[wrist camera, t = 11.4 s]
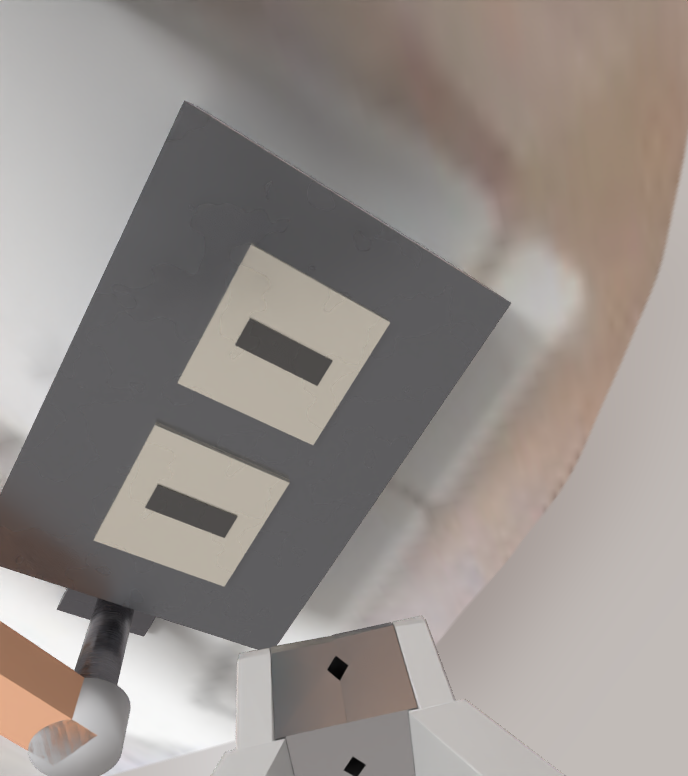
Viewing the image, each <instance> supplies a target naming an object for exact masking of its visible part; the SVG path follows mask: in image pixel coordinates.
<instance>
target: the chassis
mask: <svg viewBox="0 0 688 776" xmlns="http://www.w3.org/2000/svg"><path fill="white" fill-rule="evenodd" d="M510 304H511V302H509V301H508V300H506V299H504V298H503V297H501V296H500V295H498V294H497V293H495V292H494V291H492V290H491V289H489V288H488V287H486V286H485V285H483V284H482V283H480V282H478V281H477V280H475V279H474V278H472V277H471V276H469V275H468V274H466V273H465V272H463V271H462V270H460V269H458V268H457V267H455V266H454V265H452V264H450V263H449V262H447V261H445V260H444V259H442V258H441V257H439V256H437V255H436V254H434V253H433V252H431V251H429V250H428V249H426V248H425V247H423V246H421V245H420V244H418V243H417V242H415V241H413V240H412V239H410V238H408V237H407V236H405V235H404V234H402V233H400V232H399V231H397V230H396V229H394V228H392V227H391V226H389V225H388V224H386V223H384V222H383V221H381V220H380V219H378V218H376V217H375V216H373V215H371V214H370V213H368V212H367V211H365V210H363V209H362V208H360V207H359V206H357V205H355V204H354V203H352V202H351V201H349V200H347V199H346V198H344V197H343V196H341V195H339V194H338V193H336V192H334V191H333V190H331V189H330V188H328V187H326V186H325V185H323V184H322V183H320V182H318V181H317V180H315V179H314V178H312V177H310V176H309V175H307V174H306V173H304V172H302V171H301V170H299V169H297V168H296V167H294V166H293V165H291V164H289V163H288V162H286V161H285V160H283V159H281V158H280V157H278V156H277V155H275V154H273V153H272V152H270V151H268V150H267V149H265V148H264V147H262V146H260V145H259V144H257V143H256V142H254V141H252V140H251V139H249V138H248V137H246V136H244V135H243V134H241V133H240V132H238V131H236V130H235V129H233V128H231V127H230V126H228V125H227V124H225V123H223V122H222V121H220V120H219V119H217V118H215V117H214V116H212V115H211V114H209V113H207V112H206V111H204V110H203V109H201V108H199V107H198V106H195V105H193V104H191V103H189V102H187V101H184V103H183V105H182V107H181V109H180V111H179V113H178V116H177V118H176V120H175V122H174V124H173V126H172V128H171V131H170V133H169V135H168V137H167V139H166V141H165V143H164V146H163V148H162V150H161V152H160V154H159V156H158V158H157V161H156V163H155V165H154V167H153V169H152V171H151V173H150V175H149V178H148V180H147V182H146V184H145V186H144V188H143V190H142V193H141V195H140V197H139V199H138V201H137V203H136V205H135V208H134V210H133V212H132V214H131V216H130V218H129V220H128V223H127V225H126V227H125V229H124V231H123V233H122V235H121V238H120V240H119V242H118V244H117V246H116V248H115V250H114V253H113V255H112V257H111V259H110V261H109V263H108V265H107V268H106V270H105V272H104V274H103V276H102V278H101V280H100V283H99V285H98V287H97V289H96V291H95V293H94V295H93V298H92V300H91V302H90V304H89V306H88V308H87V310H86V312H85V315H84V317H83V319H82V321H81V323H80V325H79V327H78V330H77V332H76V334H75V336H74V338H73V340H72V342H71V345H70V347H69V349H68V351H67V353H66V355H65V357H64V360H63V362H62V364H61V366H60V368H59V370H58V372H57V375H56V377H55V379H54V381H53V383H52V385H51V387H50V390H49V392H48V394H47V396H46V398H45V400H44V402H43V405H42V407H41V409H40V411H39V413H38V415H37V417H36V420H35V422H34V424H33V426H32V428H31V430H30V432H29V435H28V437H27V439H26V441H25V443H24V445H23V447H22V449H21V452H20V454H19V456H18V458H17V460H16V462H15V464H14V467H13V469H12V471H11V473H10V475H9V477H8V479H7V482H6V484H5V486H4V488H3V490H2V492H1V494H0V566H1V567H4V568H7V569H10V570H13V571H16V572H19V573H23V574H26V575H29V576H32V577H35V578H38V579H41V580H44V581H47V582H50V583H53V584H57V585H60V586H63V587H66V588H69V589H72V590H75V591H78V592H81V593H84V594H88V595H91V596H94V597H97V598H100V599H103V600H106V601H109V602H112V603H115V604H118V605H122V606H125V607H128V608H131V609H134V610H137V611H140V612H143V613H146V614H149V615H152V616H156V617H159V618H162V619H165V620H168V621H171V622H174V623H177V624H180V625H183V626H187V627H190V628H193V629H196V630H199V631H202V632H205V633H208V634H211V635H214V636H217V637H221V638H224V639H227V640H230V641H233V642H236V643H239V644H242V645H245V646H248V647H251V648H255V649H258V650H260V649H265V648H271V647H273V646H277V644H278V643H279V642H280V640H281V639H282V637H283V636H284V634H285V633H286V631H287V630H288V628H289V627H290V625H291V624H292V623H293V621H294V620H295V618H296V617H297V615H298V614H299V612H300V611H301V609H302V608H303V606H304V605H305V604H306V602H307V601H308V599H309V598H310V596H311V595H312V593H313V592H314V590H315V589H316V587H317V586H318V585H319V583H320V582H321V580H322V579H323V577H324V576H325V574H326V573H327V571H328V570H329V568H330V567H331V566H332V564H333V563H334V561H335V560H336V558H337V557H338V555H339V554H340V552H341V551H342V549H343V548H344V547H345V545H346V544H347V542H348V541H349V539H350V538H351V536H352V535H353V533H354V532H355V530H356V529H357V528H358V526H359V525H360V523H361V522H362V520H363V519H364V517H365V516H366V514H367V513H368V511H369V510H370V509H371V507H372V506H373V504H374V503H375V501H376V500H377V498H378V497H379V495H380V494H381V492H382V491H383V490H384V488H385V487H386V485H387V484H388V482H389V481H390V479H391V478H392V476H393V475H394V474H395V472H396V471H397V469H398V468H399V466H400V465H401V463H402V462H403V460H404V459H405V457H406V456H407V455H408V453H409V452H410V450H411V449H412V447H413V446H414V444H415V443H416V441H417V440H418V438H419V437H420V436H421V434H422V433H423V431H424V430H425V428H426V427H427V425H428V424H429V422H430V421H431V419H432V418H433V417H434V415H435V414H436V412H437V411H438V409H439V408H440V406H441V405H442V403H443V402H444V400H445V399H446V398H447V396H448V395H449V393H450V392H451V390H452V389H453V387H454V386H455V384H456V383H457V381H458V380H459V379H460V377H461V376H462V374H463V373H464V371H465V370H466V368H467V367H468V365H469V364H470V362H471V361H472V360H473V358H474V357H475V355H476V354H477V352H478V351H479V349H480V348H481V346H482V345H483V343H484V342H485V341H486V339H487V338H488V336H489V335H490V333H491V332H492V330H493V329H494V327H495V326H496V324H497V323H498V322H499V320H500V319H501V317H502V316H503V314H504V313H505V311H506V310H507V308H508V307H509V305H510Z"/></svg>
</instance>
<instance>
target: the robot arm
mask: <svg viewBox="0 0 688 776" xmlns="http://www.w3.org/2000/svg"><path fill="white" fill-rule="evenodd" d="M235 748H236V749H235V750H231V751H227V752H225V753H224V755H223V757H222V758H221V760H220V762H219V763H218V765H217V767H216V768H215V769H214V771H213V773H212V774H211V776H566V775H564V774H563V773H562V772H560V771H559V770H558V769H556V768H555V767H554V766H552V765H551V764H550V763H549V762H547V761H546V760H545V759H543V758H542V757H540V756H539V755H538V754H537V753H535V752H534V751H533V750H531V749H530V748H529V747H528V746H526V745H525V744H524V743H522V742H521V741H520V740H518V739H517V738H516V737H515V736H513V735H512V734H511V733H509V732H508V731H506V730H505V729H504V728H503V727H501V726H500V725H499V724H498V723H496V722H495V721H493V720H492V719H491V718H490V717H488V716H487V715H486V714H484V713H483V712H482V711H480V710H479V709H478V708H476V707H475V706H474V705H473V704H471V703H470V702H469V701H467V700H466V699H462V700H455V697H454V695H453V692H452V689H451V687H450V684H449V681H448V678H447V676H446V673H445V670H444V668H443V665H442V662H441V659H440V657H439V654H438V651H437V649H436V646H435V643H434V641H433V638H432V635H431V632H430V630H429V627H428V624H427V622H426V619H425V618H424V617H423V616H418V617H413V618H408V619H404V620H399V621H395V622H392V623H391V622H390V623H385V624H381V625H376V626H371V627H367V628H362V629H358V630H353V631H349V632H344V633H340V634H335V635H332V636H328V637H322V638H317V639H311V640H306V641H300V642H295V643H289V644H284V645H278V646H273V647H271V648H265V649H260V650H254V651H249V652H243V653H239V657H238V661H237V693H236V745H235Z"/></svg>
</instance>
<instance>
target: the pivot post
mask: <svg viewBox="0 0 688 776" xmlns="http://www.w3.org/2000/svg"><path fill="white" fill-rule="evenodd" d="M57 610H60V611H63V612H66V613H70V614H73V615H76V616H79V617H83V618H86V619H89V620H90V623H89V627H88V630H87V633H86V636H85V639H84V642H83V645H82V649H81V652H80V655H79V658H78V661H77V664H76V667H75V672H77V673H78V674H80V675H81V676H83V677H84V678H99V679H103V680H106V681H109V682H112V683H114V684H115V685H117V683H118V679H119V674H120V670H121V666H122V662H123V657H124V653H125V649H126V644H127V640H128V636H129V632H131V633H134V634H137V635H141V636H144V635H145V634H146V632H147V630H148V629H149V627H150V625H151V624H152V622H153V620H154V619H155V617H156V616H152V615H149V614H146V613H143V612H140V611H137V610H134V609H131V608H128V607H125V606H122V605H118V604H115V603H112V602H109V601H106V600H103V599H100V598H97V597H94V596H91V595H88V594H84V593H81V592H78V591H75V590H72V589H69V588H67V589H66V591H65V593H64V595H63V597H62V599H61V601H60V603H59V605H58V608H57Z"/></svg>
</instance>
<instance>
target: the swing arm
mask: <svg viewBox="0 0 688 776" xmlns="http://www.w3.org/2000/svg"><path fill="white" fill-rule="evenodd" d="M129 714H130V701H129V698H128V696H127V695H126V693H125V692H124V691H123V690H122V689H121V688H120V687H119V686H117V685H115V684H114V683H112V682H109V681H106V680H103V679H99V678H84V677H83V676H81V675H80V674H78V673H77V672H75V671H74V670H72V669H71V668H69V667H68V666H66V665H65V664H63V663H62V662H60V661H59V660H57V659H56V658H54V657H53V656H51V655H50V654H48V653H47V652H45V651H44V650H42V649H41V648H39V647H38V646H36V645H35V644H34V643H32V642H31V641H29V640H28V639H26V638H25V637H23V636H22V635H20V634H19V633H17V632H16V631H14V630H13V629H11V628H10V627H8V626H7V625H5V624H4V623H2V622H1V621H0V735H2V736H4V737H5V738H7V739H9V740H10V741H12V742H14V743H16V744H17V745H19V746H21V747H22V748H24V749H26V750H28V755H29V758H30V761H31V762H32V764H33V765H34V766H35V767H36V768H37V769H38V770H39V771H40V772H42V773H44V774H46V775H48V776H100V775H102V774H104V773H106V772H107V771H109V770H110V769H111V768H113V767H114V766H115V765H116V763H117V762H118V761H119V759H120V757H121V753H122V748H123V743H124V738H125V733H126V728H127V723H128V719H129Z"/></svg>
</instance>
